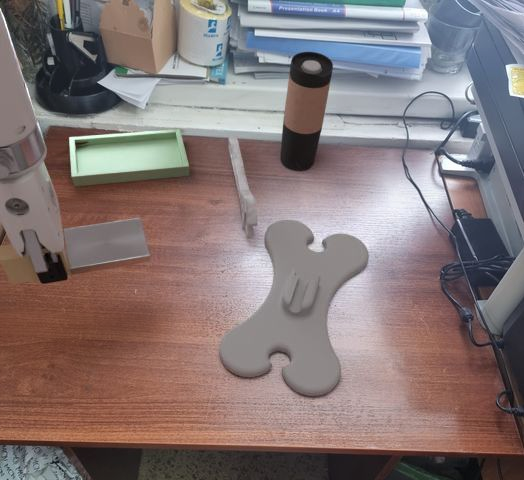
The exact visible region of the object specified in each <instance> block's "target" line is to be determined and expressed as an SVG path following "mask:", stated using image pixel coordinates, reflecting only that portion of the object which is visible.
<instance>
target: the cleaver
mask: <svg viewBox="0 0 524 480" xmlns="http://www.w3.org/2000/svg"><path fill="white" fill-rule="evenodd" d="M63 238H64V246H65V247H64V248H63V250H62V251H61V252H56V253H57V255H60V256H61V259H62V262H63V264H64V267H65V270H66V272H67V276H68V277H69V276H74V275H80V274H84V273H90V272H97V271H104V270H109V269H114V268H121V267H126V266H132V265H137V264H143V263H149V262H152V258H151V253H150V249H149V245H148V241H147V237H146V233H145V229H144V225H143V221H142V217H136V218H128V219H123V220H122V219H121V220H115V221H109V222H102V223H96V224H90V225H83V226H76V227H69V228H64V229H63ZM42 250H43V253H49V250H48V249H47V248H45V249H42ZM0 266H1V268H2V269H3V271H4V273H5V274H6V277H7V279H8V281H9V282H10V284H11V286H14V285H15V286H16V285H21V284H27V283H32V282H38V281H39V282H40V280H39V278H38V275H37V273H36V272H35V269H34V267H33V264H32V262H31V259H30V257H29V255H28V253H27V250H26V255H25V257H24V258H23V257H21V256H19V255H18V254H17V253H16V251H15V250H14V248H13V246H12V244H11V243H9V244H2V245H0Z"/></svg>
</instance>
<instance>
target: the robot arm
mask: <svg viewBox="0 0 524 480" xmlns="http://www.w3.org/2000/svg"><path fill="white" fill-rule="evenodd" d="M13 43H14V42H13V40H12V37H11V33H10V30H9V28H8V25H7V22H6V19H5V16H4V14H3V12H2V9H1V8H0V222H1V225H2V228H3V229H4V231H5V233H6V235H7V238H8V241H9V242H10V244H12V246H13V248H14V250H15V251H16V253H17V254H18V255H19V256H21V257H23V258H24V257H25V255H26V250H27V253H28V255H29V257H30V259H31V262H32V264H33V267H34V269H35V272H36V273H37V275H38V278H39V282H40V283H41V284H42V285H45V284H52V283H53V284H54V283H57V282H63V281H64V282H65V281H67V280H68V279H69V275H68V276H67V272H66V270H65V267H64V264H63V262H62V259H61V256H60V255H57V253H56V252H61V251H62V250H63V248H65V237H64V229H63V223H62V216H61V209H60V204H59V198H58V195H57V192H56V190H55V186H54V185H53V182H52V179H51V177H50V174H49V171H48V169H47V165H46V164H45V160H46V157H47V153H48V151H47V150H48V149H47V146H46V143H45V139H44V135H43V133H42V130H41V127H40V124H39V123H40V122H39V121H38V120H39V119H38V118H37V117H38V116H37V114H36V111H35V108H34V106H33V105H34V104H33V102H32V99H31V96H30V93H29V90H28V89H29V88H28V86H27V83H26V81H25V78H24V74H23V72H22V68H21V65H20V62H19V59H18V55H17V52H16V50H15V46H14V44H13ZM45 248H47V249H48V250H49V253H43V250H42V249H45Z"/></svg>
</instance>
